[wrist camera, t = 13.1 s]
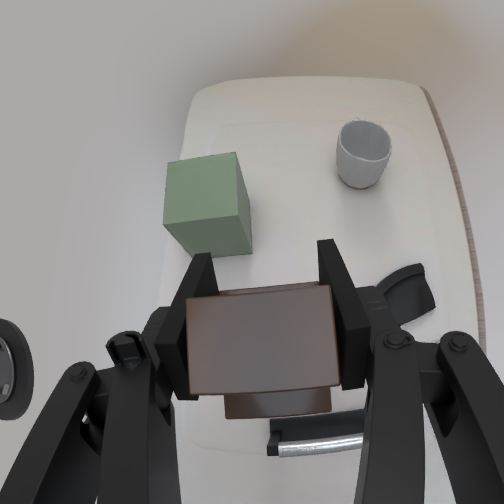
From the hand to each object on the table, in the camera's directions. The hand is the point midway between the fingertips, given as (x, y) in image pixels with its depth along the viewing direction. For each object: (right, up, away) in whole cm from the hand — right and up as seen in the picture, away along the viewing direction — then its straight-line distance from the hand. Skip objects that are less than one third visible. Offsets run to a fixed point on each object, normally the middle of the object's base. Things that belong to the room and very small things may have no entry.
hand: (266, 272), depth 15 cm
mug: (+19, +17, +41) cm, 48 cm away
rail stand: (+10, -25, +26) cm, 38 cm away
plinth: (-6, +5, +40) cm, 40 cm away
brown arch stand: (+1, -6, +7) cm, 9 cm away
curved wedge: (+22, -6, +32) cm, 39 cm away
